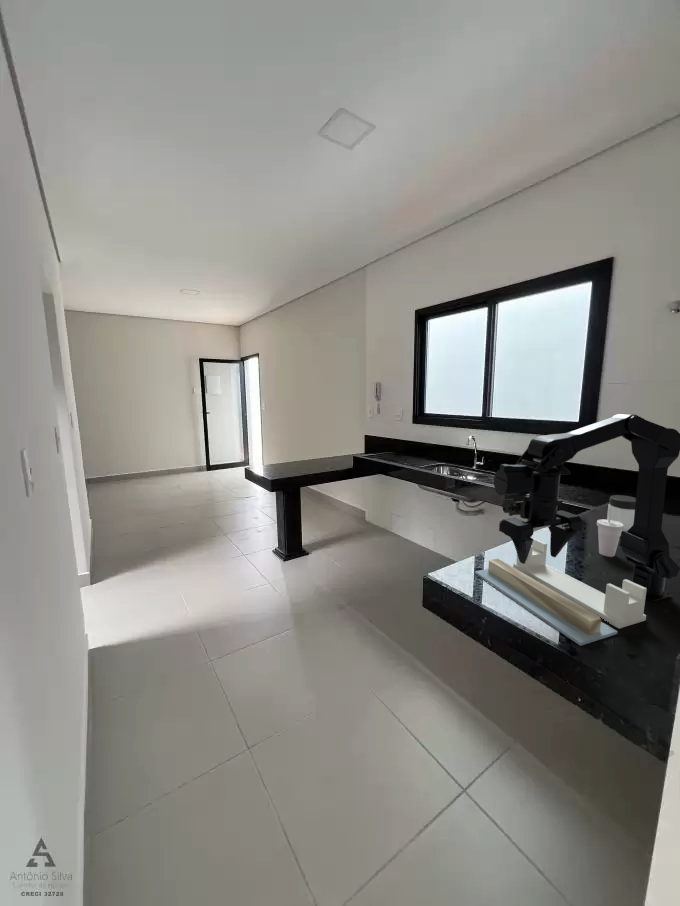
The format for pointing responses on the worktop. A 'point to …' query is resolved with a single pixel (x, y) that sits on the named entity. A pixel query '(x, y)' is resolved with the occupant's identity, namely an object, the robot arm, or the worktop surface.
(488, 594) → the worktop surface
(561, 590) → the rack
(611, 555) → the smoothie
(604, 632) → the mat
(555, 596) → the rail
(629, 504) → the jar
